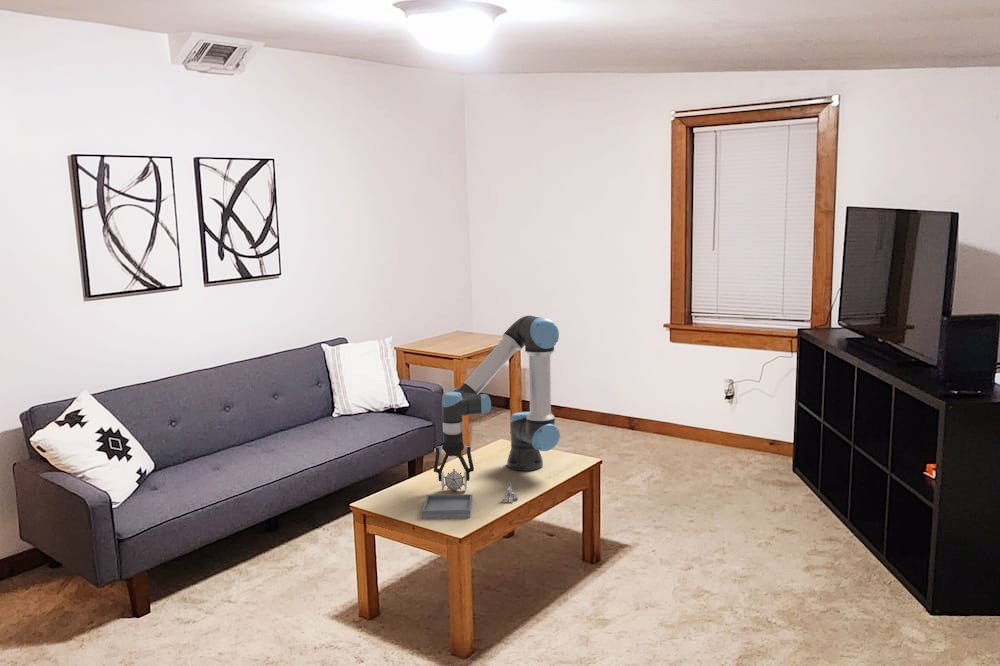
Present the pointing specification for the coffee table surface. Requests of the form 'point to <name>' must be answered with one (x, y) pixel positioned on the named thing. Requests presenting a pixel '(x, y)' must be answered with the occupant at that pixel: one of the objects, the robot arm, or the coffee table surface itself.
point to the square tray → (447, 506)
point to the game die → (454, 481)
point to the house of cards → (510, 495)
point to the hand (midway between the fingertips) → (454, 488)
